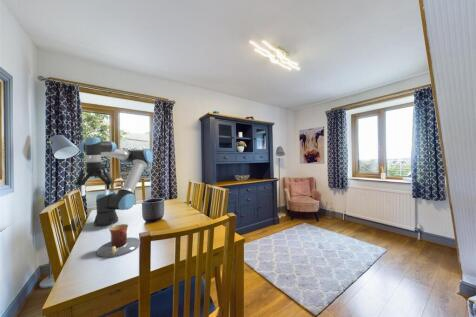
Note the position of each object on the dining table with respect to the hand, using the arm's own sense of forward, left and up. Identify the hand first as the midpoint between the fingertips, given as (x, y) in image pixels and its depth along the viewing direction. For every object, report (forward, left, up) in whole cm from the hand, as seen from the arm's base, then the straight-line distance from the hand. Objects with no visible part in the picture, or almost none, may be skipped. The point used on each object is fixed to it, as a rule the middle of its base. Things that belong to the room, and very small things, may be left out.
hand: (95, 195), depth 117 cm
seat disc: (+21, +20, -26) cm, 39 cm away
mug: (+22, +20, -25) cm, 39 cm away
